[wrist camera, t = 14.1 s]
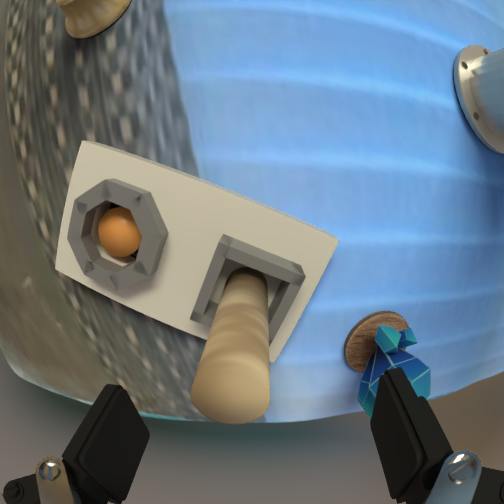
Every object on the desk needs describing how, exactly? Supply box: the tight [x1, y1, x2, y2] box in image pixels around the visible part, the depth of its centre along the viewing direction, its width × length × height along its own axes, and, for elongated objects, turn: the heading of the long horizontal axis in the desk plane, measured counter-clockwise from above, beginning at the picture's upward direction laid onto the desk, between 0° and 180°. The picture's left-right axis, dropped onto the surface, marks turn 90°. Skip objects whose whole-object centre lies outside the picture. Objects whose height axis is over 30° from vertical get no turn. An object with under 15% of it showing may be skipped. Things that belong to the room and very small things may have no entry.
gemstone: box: [344, 311, 430, 419], centre depth 20 cm, size 7×9×12 cm
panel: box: [55, 141, 339, 363], centre depth 21 cm, size 22×12×5 cm, turn 68°
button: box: [98, 206, 142, 257], centre depth 22 cm, size 4×4×2 cm
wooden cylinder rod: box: [191, 267, 270, 424], centre depth 16 cm, size 3×3×12 cm
